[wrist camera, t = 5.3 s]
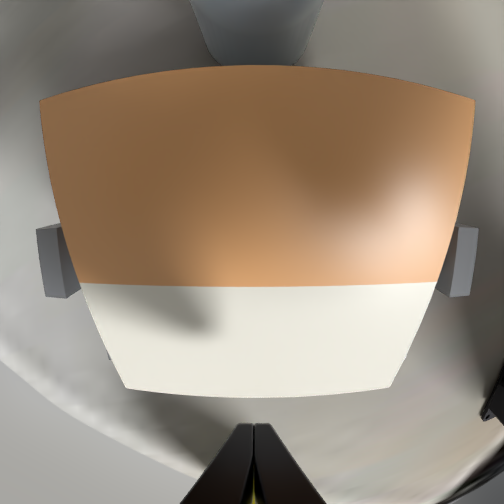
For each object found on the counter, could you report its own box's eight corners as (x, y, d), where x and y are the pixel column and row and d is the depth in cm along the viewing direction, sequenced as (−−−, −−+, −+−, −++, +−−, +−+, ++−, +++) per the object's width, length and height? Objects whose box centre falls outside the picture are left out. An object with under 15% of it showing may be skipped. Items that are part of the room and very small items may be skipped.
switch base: (415, 109, 12) (481, 83, 7) (398, 350, 15) (443, 408, 10) (97, 110, 13) (31, 84, 7) (116, 350, 15) (71, 409, 10)
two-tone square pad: (453, 98, 7) (492, 106, 5) (390, 351, 13) (403, 384, 11) (60, 99, 7) (21, 107, 5) (124, 352, 13) (111, 385, 11)
